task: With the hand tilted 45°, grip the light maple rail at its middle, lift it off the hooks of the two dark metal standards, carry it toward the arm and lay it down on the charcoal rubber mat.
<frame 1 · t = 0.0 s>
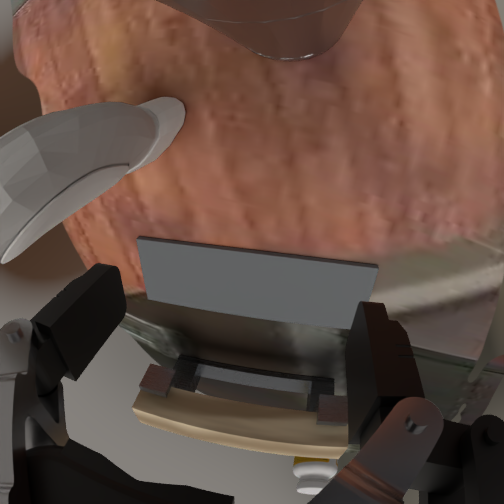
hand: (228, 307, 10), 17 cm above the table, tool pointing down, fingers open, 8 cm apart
standards: (255, 362, 37), on the table
rail: (243, 410, 29), point 8 cm above the table, touching standards
mat: (250, 284, 31), on the table
soap bottle: (137, 125, 24), on the table
supplement bottle: (319, 419, 43), on the table
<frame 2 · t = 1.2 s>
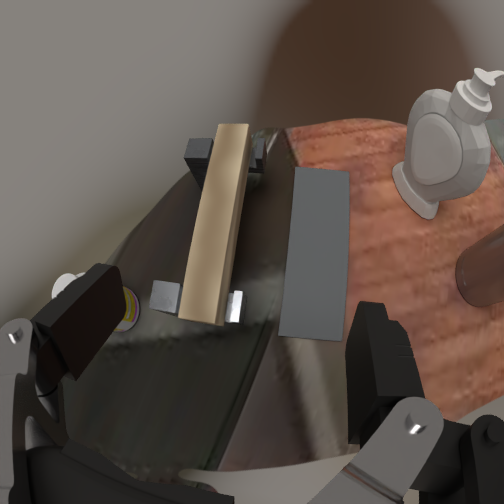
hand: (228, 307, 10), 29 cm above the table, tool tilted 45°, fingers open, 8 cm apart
standards: (225, 246, 41), on the table
rail: (223, 223, 33), point 8 cm above the table, touching standards
mat: (318, 247, 40), on the table
soap bottle: (418, 189, 41), on the table
supplement bottle: (122, 310, 41), on the table
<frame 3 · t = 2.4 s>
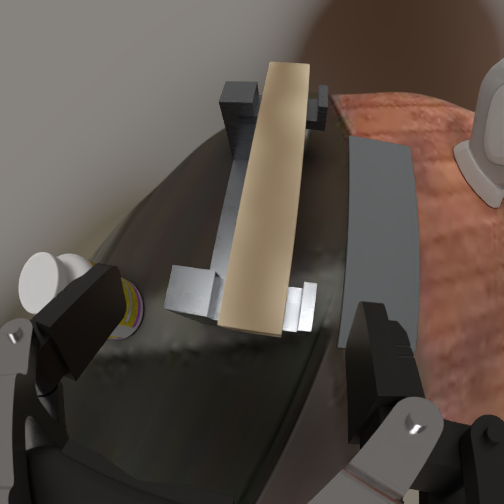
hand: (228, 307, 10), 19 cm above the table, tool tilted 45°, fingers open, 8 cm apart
standards: (264, 227, 31), on the table
rail: (277, 188, 23), point 8 cm above the table, touching standards
mat: (383, 233, 30), on the table
soap bottle: (480, 174, 31), on the table
supplement bottle: (119, 310, 30), on the table
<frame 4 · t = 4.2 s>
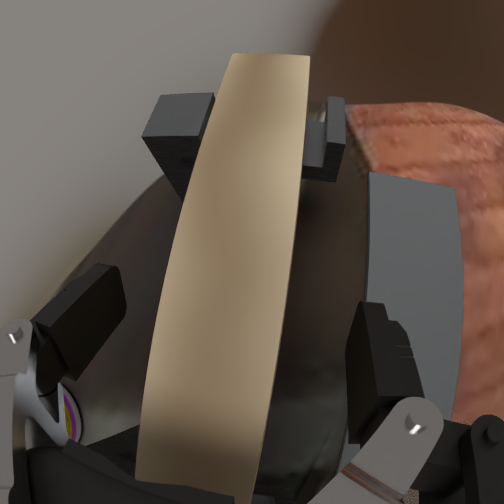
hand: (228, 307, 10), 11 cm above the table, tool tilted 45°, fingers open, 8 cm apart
standards: (234, 328, 20), on the table
rail: (239, 320, 12), point 8 cm above the table, touching standards
mat: (413, 333, 18), on the table
supplement bottle: (57, 414, 19), on the table
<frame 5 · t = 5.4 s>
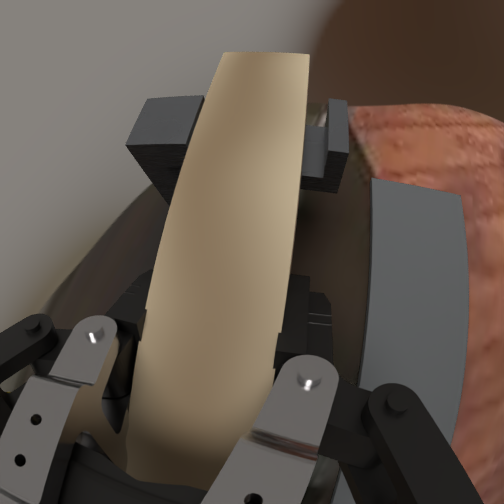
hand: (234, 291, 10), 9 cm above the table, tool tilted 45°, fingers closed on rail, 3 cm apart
standards: (229, 345, 19), on the table
rail: (231, 348, 11), point 8 cm above the table, touching gripper, standards
mat: (416, 349, 17), on the table
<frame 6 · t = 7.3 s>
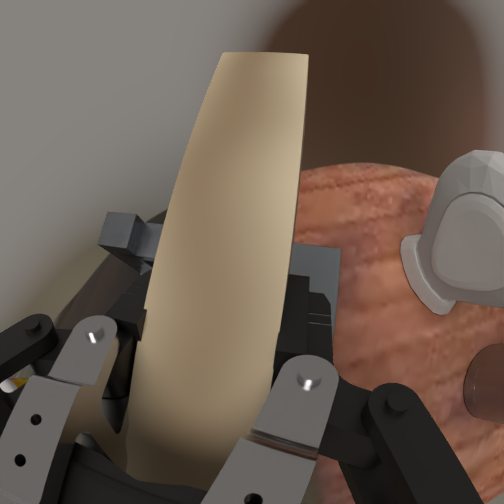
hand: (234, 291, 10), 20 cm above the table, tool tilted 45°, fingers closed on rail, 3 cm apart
standards: (167, 349, 30), on the table
rail: (230, 349, 11), point 19 cm above the table, touching gripper
mat: (289, 360, 28), on the table
soap bottle: (432, 271, 30), on the table
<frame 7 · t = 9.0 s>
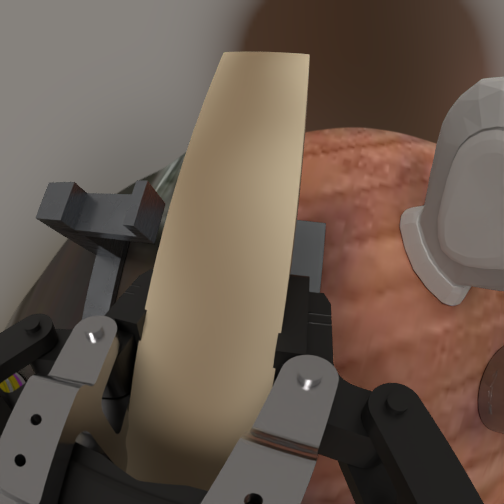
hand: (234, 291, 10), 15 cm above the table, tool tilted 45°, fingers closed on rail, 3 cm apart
standards: (121, 342, 25), on the table
rail: (231, 349, 11), point 14 cm above the table, touching gripper
mat: (259, 359, 23), on the table
soap bottle: (440, 252, 24), on the table
supplement bottle: (19, 397, 24), on the table
when the fingers open (4 cm above the table, at t = 11.1 s): rail drops 3 cm, resting on mat.
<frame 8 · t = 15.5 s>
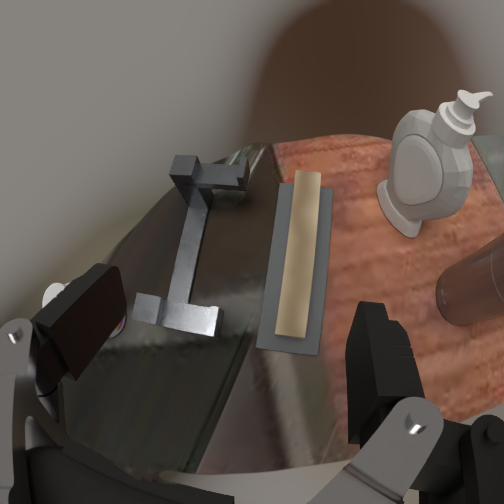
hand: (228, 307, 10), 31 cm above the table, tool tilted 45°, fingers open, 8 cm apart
standards: (208, 259, 43), on the table
rail: (299, 255, 41), point 1 cm above the table, touching mat
mat: (298, 263, 41), on the table
soap bottle: (402, 207, 43), on the table
supplement bottle: (109, 317, 42), on the table
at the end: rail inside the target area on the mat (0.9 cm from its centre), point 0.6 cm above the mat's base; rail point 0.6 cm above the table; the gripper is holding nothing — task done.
